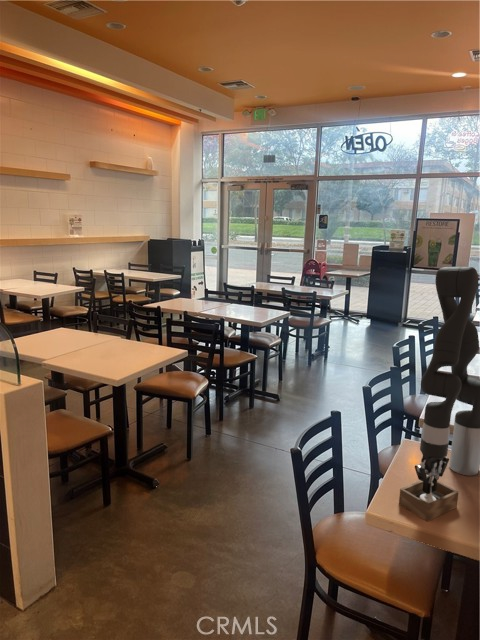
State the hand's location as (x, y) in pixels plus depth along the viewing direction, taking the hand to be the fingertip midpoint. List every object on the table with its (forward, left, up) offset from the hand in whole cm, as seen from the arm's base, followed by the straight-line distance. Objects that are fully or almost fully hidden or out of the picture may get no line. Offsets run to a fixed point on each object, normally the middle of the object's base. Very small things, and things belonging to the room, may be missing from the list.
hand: (429, 491), depth 139 cm
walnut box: (0, 0, -5) cm, 5 cm away
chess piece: (0, 0, -3) cm, 3 cm away
